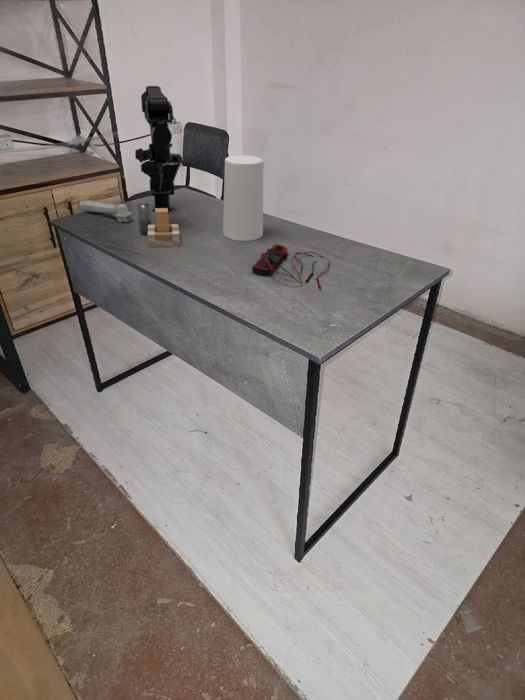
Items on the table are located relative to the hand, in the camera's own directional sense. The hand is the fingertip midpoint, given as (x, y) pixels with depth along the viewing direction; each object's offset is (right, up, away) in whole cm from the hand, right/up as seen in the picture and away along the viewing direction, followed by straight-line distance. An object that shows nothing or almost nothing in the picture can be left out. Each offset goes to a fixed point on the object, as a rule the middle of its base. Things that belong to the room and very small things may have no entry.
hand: (164, 189), depth 160 cm
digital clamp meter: (+43, -32, -19) cm, 57 cm away
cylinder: (+27, -15, +3) cm, 31 cm away
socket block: (+1, -19, -5) cm, 20 cm away
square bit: (+1, -19, -6) cm, 20 cm away
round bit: (-6, -15, 0) cm, 17 cm away
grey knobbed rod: (-25, -6, +14) cm, 29 cm away
